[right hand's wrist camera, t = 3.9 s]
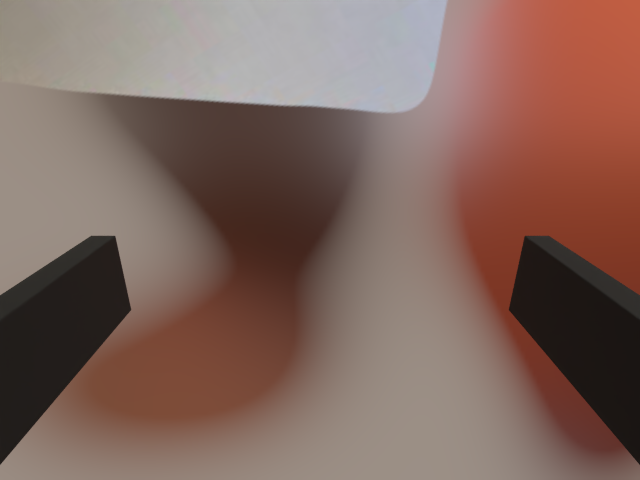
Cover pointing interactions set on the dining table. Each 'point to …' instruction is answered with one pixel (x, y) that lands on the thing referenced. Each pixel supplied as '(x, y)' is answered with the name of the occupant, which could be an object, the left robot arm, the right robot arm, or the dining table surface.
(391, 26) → the dining table surface
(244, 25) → the dining table surface
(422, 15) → the dining table surface
